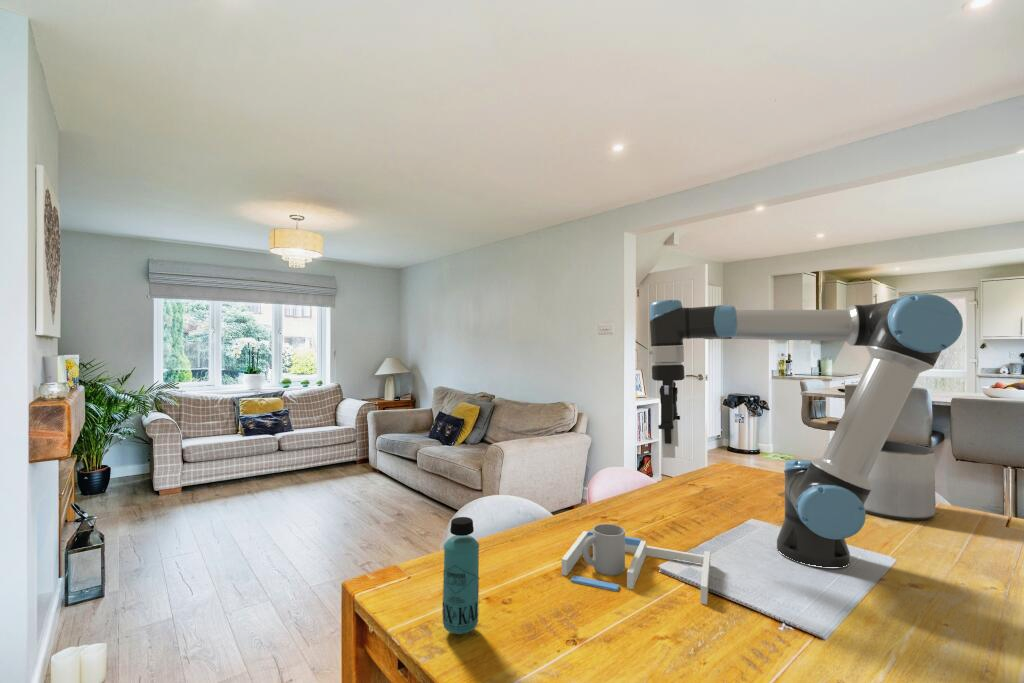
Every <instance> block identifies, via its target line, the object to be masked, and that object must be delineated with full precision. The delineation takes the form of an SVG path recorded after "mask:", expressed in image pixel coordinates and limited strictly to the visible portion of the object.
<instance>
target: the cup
mask: <svg viewBox="0 0 1024 683" xmlns="http://www.w3.org/2000/svg"><path fill="white" fill-rule="evenodd" d="M592 531H593V535H591V536H589V537H587V539H586V540H585V542H584V544H583V554H582V557H583V560H584V562H585V563H586V564H587V565H589V566H592V567H593V569H594V570H595V572H596V573H598V574H601V575H604V576H611V577H612V576H619V575H622V574H623V573H624V572H625V569H626V552H625V536H626V529H625V528H623V527H622V526H620V525H616V524H613V523H599V524H597V525H594V526H593V528H592ZM592 543H593V546H591V544H592ZM591 547H592V557H591V554H590V553H591V552H590V549H591Z"/></svg>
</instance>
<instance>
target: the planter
mask: <svg viewBox="0 0 1024 683" xmlns="http://www.w3.org/2000/svg"><path fill="white" fill-rule="evenodd" d="M935 452H936V451H935V450H934V449H933V448H930V447H927V446H924V445H921V444H920V445H919V444H915V443H910V442H904V441H897V440H888V439H886V441H885V443H884V445H883V447H882V449H881V451H880V453H879V455H878V457H877V459H876V461H875V463H874V465H873V467H872V469H871V471H870V473H869V475H868V481H869V483H870V485H871V487H872V490H871V491H870V493H869V496H868V498H867V500H866V502H865V504H864V508H865V514H866V513H867V514H870V515H873V516H877V517H881V518H887V519H893V520H894V519H895V520H901V521H902V520H903V521H922V520H928V519H930V518H932V517H935V515H936V508H937V507H936V505H937V504H936V476H935V475H936V470H935V469H936V466H935V464H936V462H935V461H936V460H935Z"/></svg>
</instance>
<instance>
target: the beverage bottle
mask: <svg viewBox="0 0 1024 683" xmlns="http://www.w3.org/2000/svg"><path fill="white" fill-rule="evenodd" d="M474 529H475V528H474V520H473V519H472V518H471V517H467V516H459V517H455V518H452V519H451V522H450V529H449V530H450V534H451V535H453V536H450V537H449V538H448V539H447V540H446V541H445V543H444V545H443V548H444V549H443V550H444V551H443V552H444V554H443V555H444V557H443V571H442V575H443V580H442V593H441V594H442V609H441V610H442V612H441V613H442V614H441V615H442V617H441V620H442V621H441V623H442V625H443V628H444V629H445V630H446V631H447V632H448V633H452V634H457V635H458V634H459V635H462V634H467V633H470V632H472V631H473V630H474V629H476V627H477V626H478V623H479V618H480V617H479V597H480V595H479V592H480V589H479V588H480V585H479V583H480V577H479V574H480V573H479V571H480V570H479V565H480V562H479V560H480V559H479V554H480V550H479V549H480V543H479V541H477V540H476V538H474V537H473V536H472V535H471V534H473V533H474Z"/></svg>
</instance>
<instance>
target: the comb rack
mask: <svg viewBox="0 0 1024 683" xmlns="http://www.w3.org/2000/svg"><path fill="white" fill-rule="evenodd" d="M591 535H593V530H588V531H586V530H583V531H582V532H581V533H580V535H579V536H578V537H577V539H576V540H575V541H574V542H573V544H572V545H571V546H570V547H569V549H568V550H567V552H566V553H565V554H564V555H563V557H562V558H561V575H562V576H566V577H567V576H568V575H569V574H570V572H571V570H573V568H574V566H575V565H576V563H577V562H578V561H579V559H580V557H581V556H583V544H584V542H585V540H586V539H587V537H589V536H591ZM590 547H593V543H592V544H591V546H590ZM703 552H704V553H703V554H698V553H694V552H692V553H691V552H686V551H680V550H674V549H668V548H663V547H662V548H661V547H657V546H651V545H647V541H646V540H643V539H642V538H638V537H632V536H626V535H625V553H629V554H634V555H633V558H632V560H631V561H630V564H629V566H628V569H627V570H626V589H628V590H634V588H635V585H636V582H637V581H638V578H639V575H640V572H641V570H642V568H643V565H644V562H645V559H646V557H647V556H648V557H651V558H658V559H665V560H669V561H674V559H679V560H685V561H690V562H695V563H701V564H703V565H702V570H701V579H700V604H702V605H706V606H707V605H708V597H709V587H708V585H709V584H710V575H709V573H710V572H711V551H710V550H704V551H703ZM570 582H571V583H575V584H580V585H584V586H590V587H594V588H598V589H602V590H603V589H604V590H608V591H611V592H612V591H613V592H618V590H619V588H620V584H616V583H614V582H607V581H603V580H597V579H593V578H589V577H588V578H587V577H583V576H577V575H575V574H574V575H572V576H571V579H570Z"/></svg>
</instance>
